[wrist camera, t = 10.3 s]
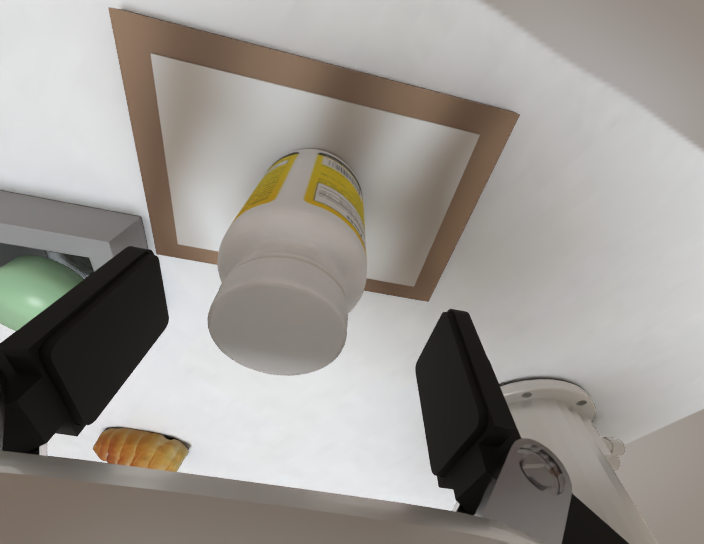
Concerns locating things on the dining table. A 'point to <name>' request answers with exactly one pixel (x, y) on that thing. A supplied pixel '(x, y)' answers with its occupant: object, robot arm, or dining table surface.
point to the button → (32, 288)
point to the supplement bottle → (292, 267)
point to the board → (300, 145)
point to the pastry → (140, 449)
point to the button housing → (64, 229)
